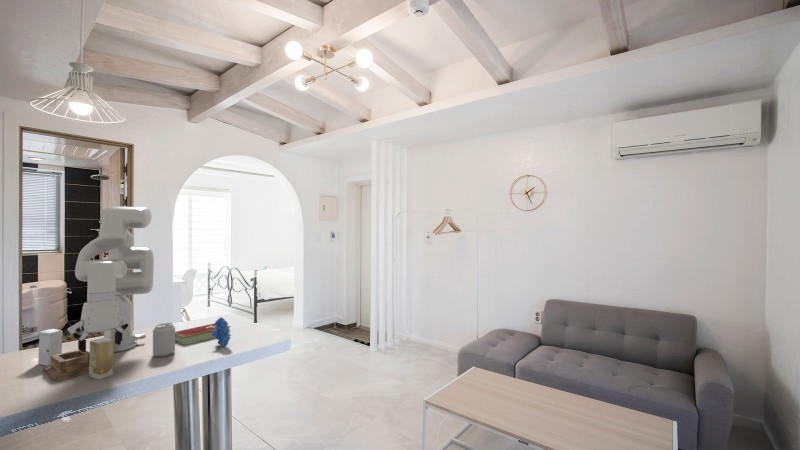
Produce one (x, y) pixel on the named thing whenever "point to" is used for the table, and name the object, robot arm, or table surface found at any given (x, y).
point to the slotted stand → (68, 365)
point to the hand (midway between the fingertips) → (100, 347)
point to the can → (163, 339)
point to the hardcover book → (195, 334)
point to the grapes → (221, 332)
